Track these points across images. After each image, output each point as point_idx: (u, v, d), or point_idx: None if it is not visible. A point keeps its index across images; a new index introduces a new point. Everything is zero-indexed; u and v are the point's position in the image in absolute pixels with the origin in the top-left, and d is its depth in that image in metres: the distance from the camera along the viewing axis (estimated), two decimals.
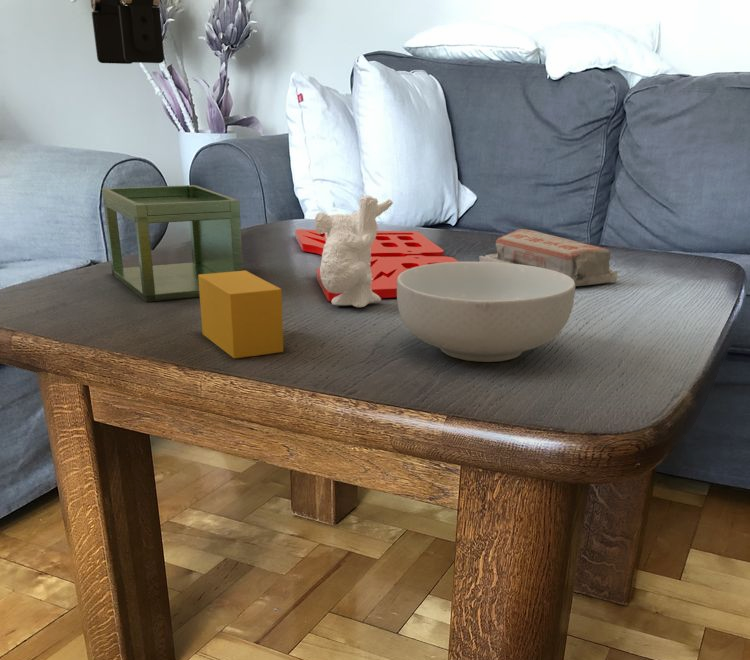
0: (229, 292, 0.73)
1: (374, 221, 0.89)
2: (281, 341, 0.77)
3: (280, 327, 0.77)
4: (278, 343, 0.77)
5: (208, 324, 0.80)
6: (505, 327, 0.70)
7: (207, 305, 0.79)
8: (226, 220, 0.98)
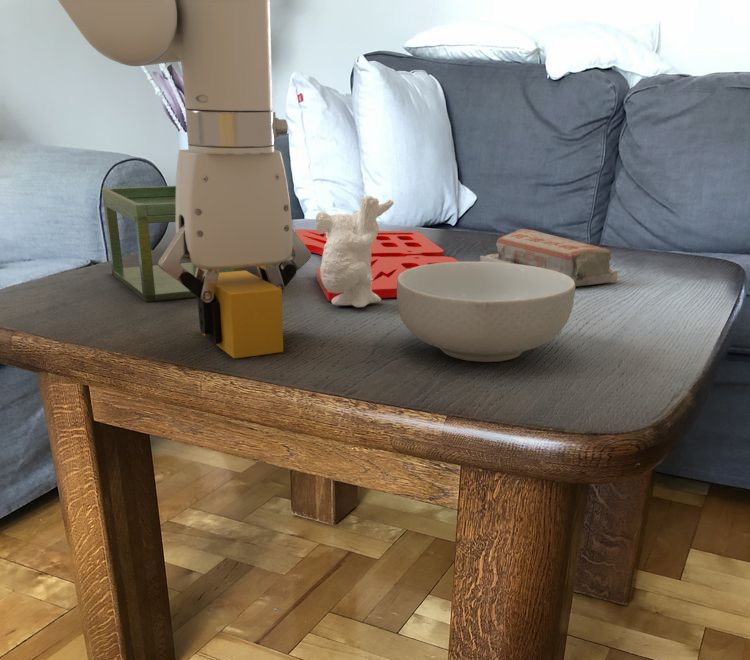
0: (229, 292, 0.73)
1: (375, 221, 0.90)
2: (281, 341, 0.77)
3: (280, 327, 0.77)
4: (278, 343, 0.77)
5: None
6: (505, 327, 0.70)
7: None
8: None
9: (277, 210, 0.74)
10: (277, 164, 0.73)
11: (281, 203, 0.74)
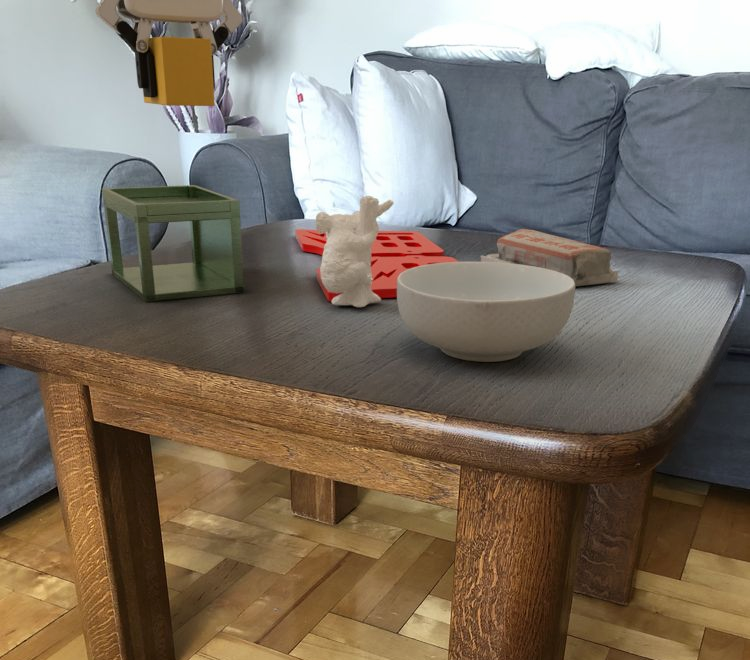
0: None
1: (375, 221, 0.90)
2: (212, 94, 0.83)
3: (210, 79, 0.82)
4: (209, 95, 0.83)
5: None
6: (505, 327, 0.70)
7: None
8: (226, 220, 0.98)
9: None
10: None
11: None
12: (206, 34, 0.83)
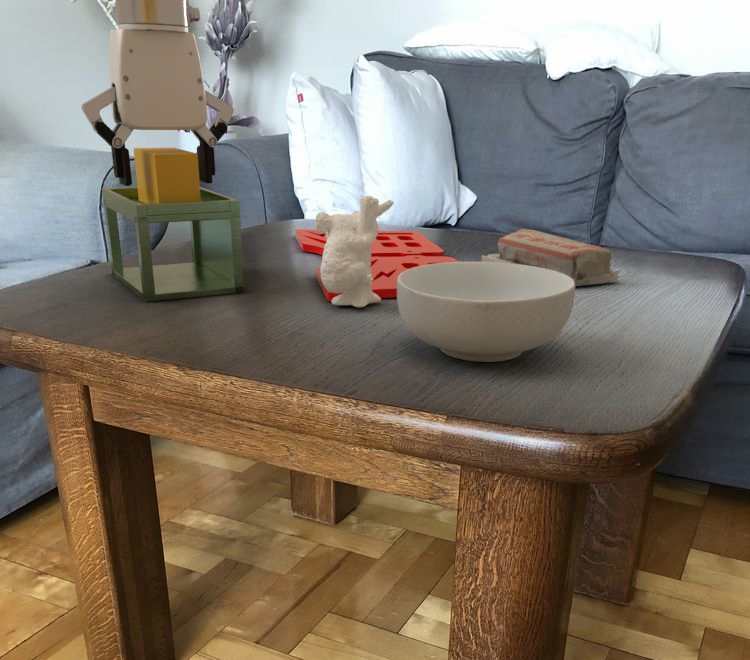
0: (154, 153, 0.92)
1: (375, 221, 0.90)
2: (199, 199, 0.95)
3: (197, 186, 0.95)
4: (196, 200, 0.95)
5: (142, 189, 0.98)
6: (505, 327, 0.70)
7: (140, 172, 0.97)
8: (226, 220, 0.98)
9: (192, 82, 0.92)
10: (190, 42, 0.90)
11: (195, 76, 0.92)
12: (204, 132, 0.96)
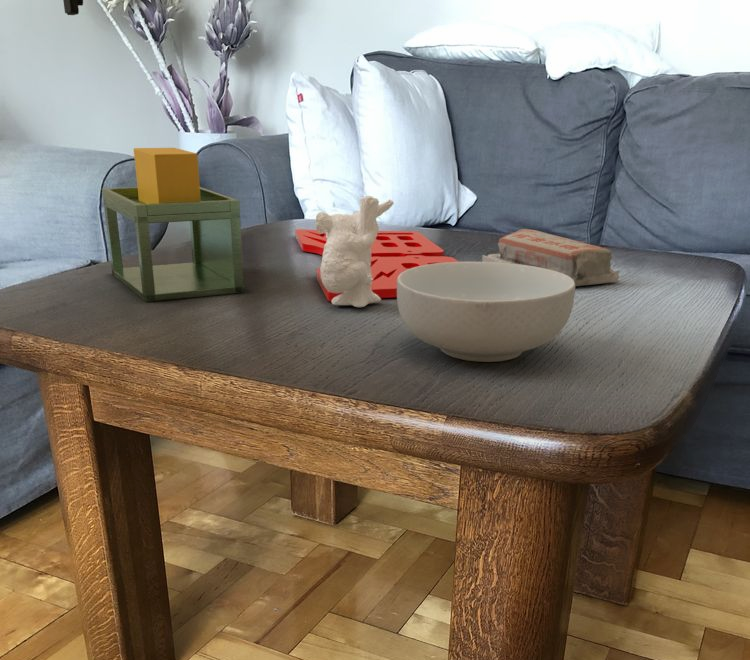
0: (154, 153, 0.92)
1: (375, 221, 0.90)
2: (199, 199, 0.95)
3: (197, 186, 0.95)
4: (196, 200, 0.95)
5: (142, 189, 0.98)
6: (505, 327, 0.70)
7: (140, 172, 0.97)
8: (226, 220, 0.98)
9: None
10: None
11: None
12: None
